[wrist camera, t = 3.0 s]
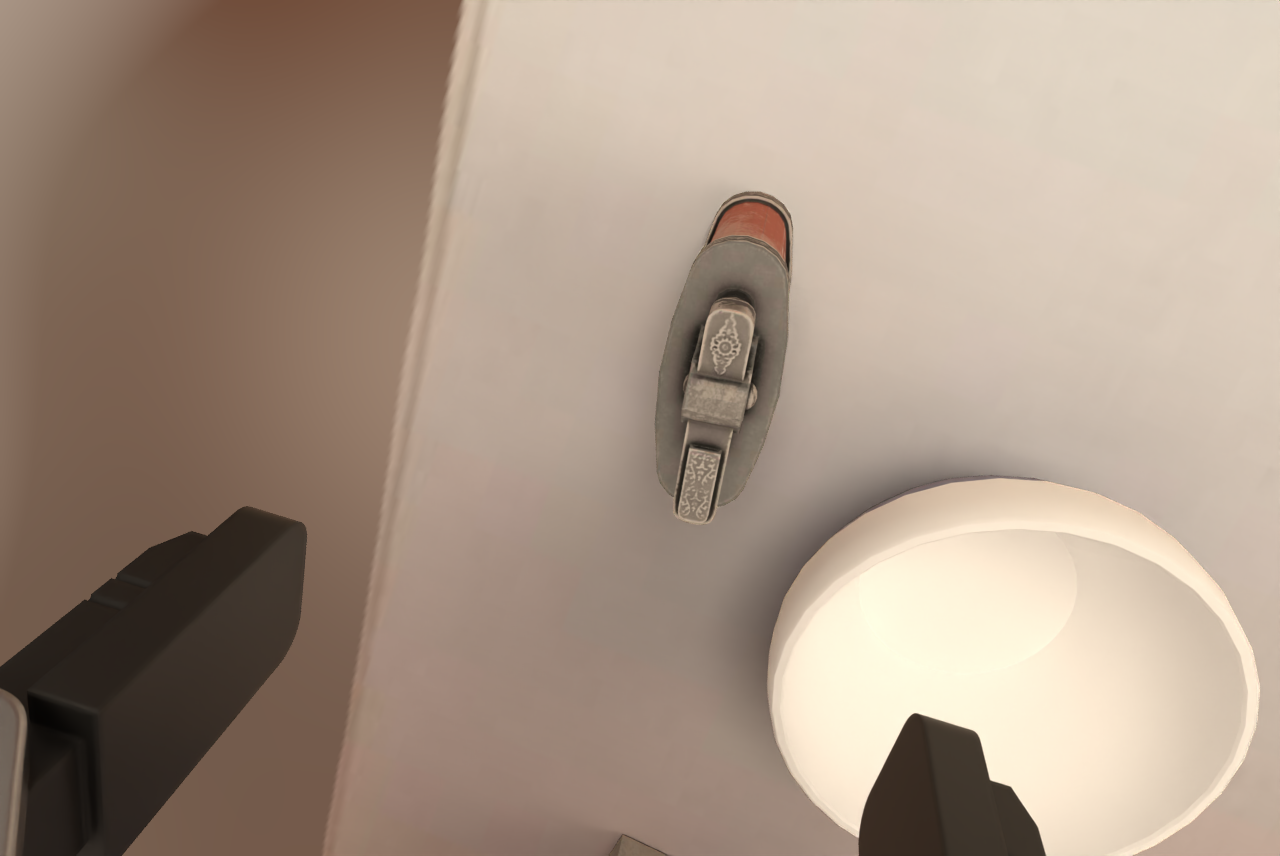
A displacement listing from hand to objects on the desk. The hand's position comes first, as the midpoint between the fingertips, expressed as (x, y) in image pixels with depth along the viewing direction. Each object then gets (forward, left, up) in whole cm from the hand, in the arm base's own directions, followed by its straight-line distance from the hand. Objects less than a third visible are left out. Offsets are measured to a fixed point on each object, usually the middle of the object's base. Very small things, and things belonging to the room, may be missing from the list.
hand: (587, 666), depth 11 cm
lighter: (+1, -1, -22) cm, 22 cm away
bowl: (+14, -6, -22) cm, 27 cm away
